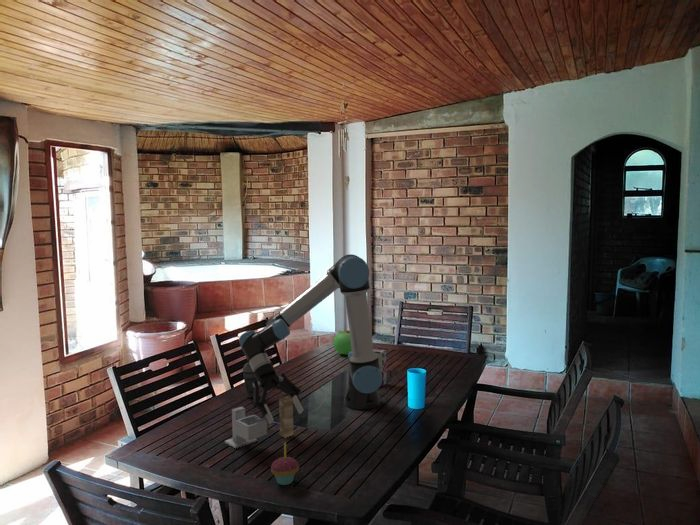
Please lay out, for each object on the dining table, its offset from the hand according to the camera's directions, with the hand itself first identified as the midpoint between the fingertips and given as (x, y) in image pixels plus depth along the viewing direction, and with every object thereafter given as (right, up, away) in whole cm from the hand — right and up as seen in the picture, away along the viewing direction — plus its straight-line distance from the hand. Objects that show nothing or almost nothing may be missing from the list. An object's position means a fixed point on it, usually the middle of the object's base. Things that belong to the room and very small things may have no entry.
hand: (286, 417), depth 192 cm
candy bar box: (+34, -2, +60) cm, 69 cm away
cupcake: (+3, -11, -31) cm, 33 cm away
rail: (0, -7, +2) cm, 7 cm away
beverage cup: (-21, -4, +44) cm, 49 cm away
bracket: (-13, -8, -6) cm, 17 cm away
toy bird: (+22, +3, +113) cm, 115 cm away
